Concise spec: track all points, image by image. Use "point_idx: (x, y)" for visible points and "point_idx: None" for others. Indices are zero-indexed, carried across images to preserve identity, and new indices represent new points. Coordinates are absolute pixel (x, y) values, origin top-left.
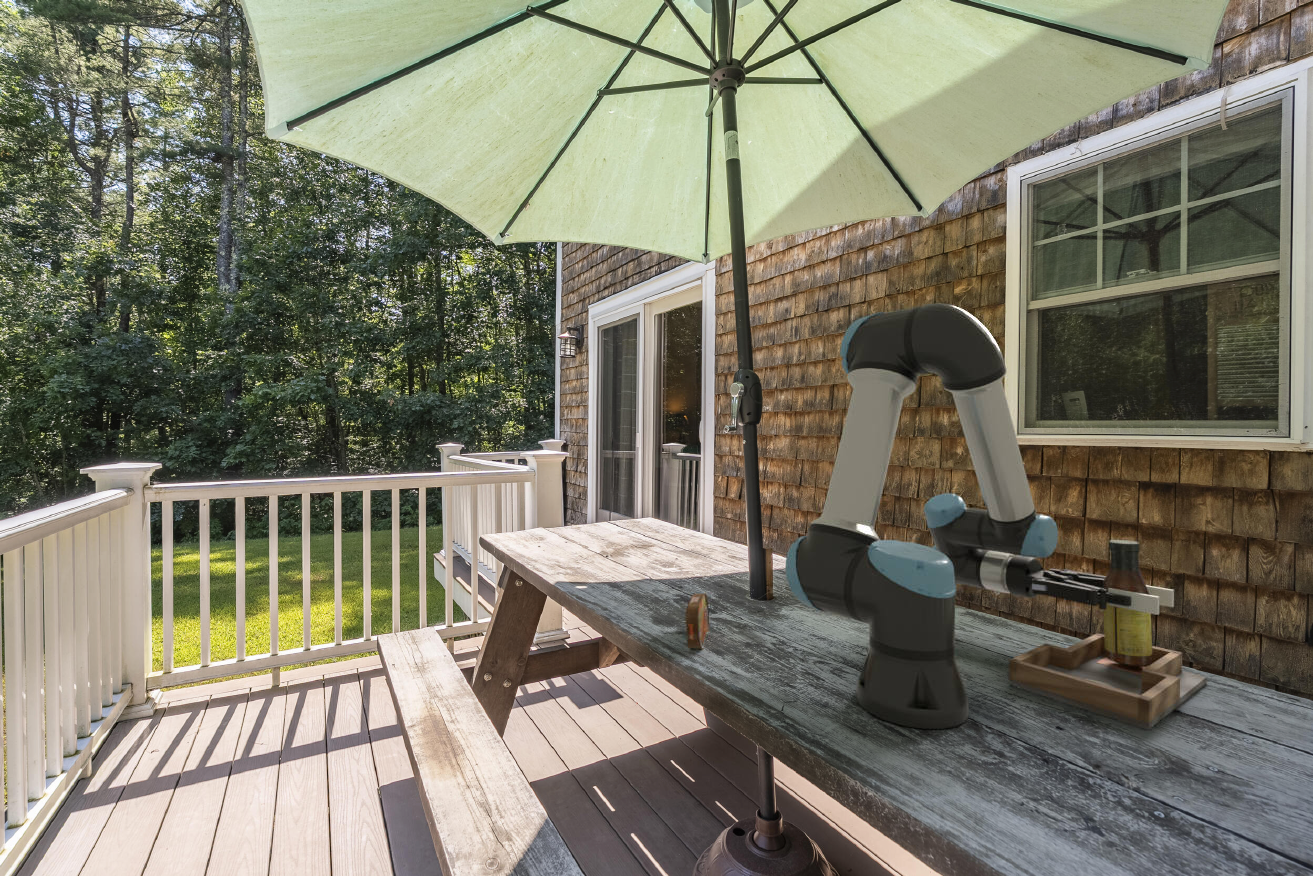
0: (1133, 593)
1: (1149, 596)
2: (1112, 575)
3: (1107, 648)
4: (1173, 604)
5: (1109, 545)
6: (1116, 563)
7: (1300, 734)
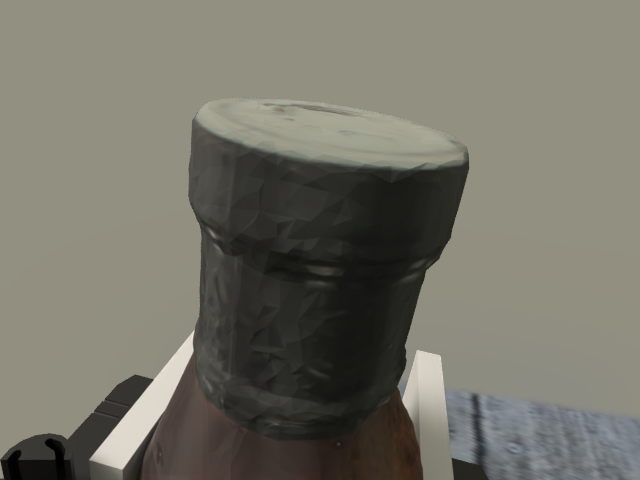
0: (446, 430)
1: (441, 378)
2: (388, 473)
3: None
4: None
5: (391, 222)
6: (396, 359)
7: (403, 383)
